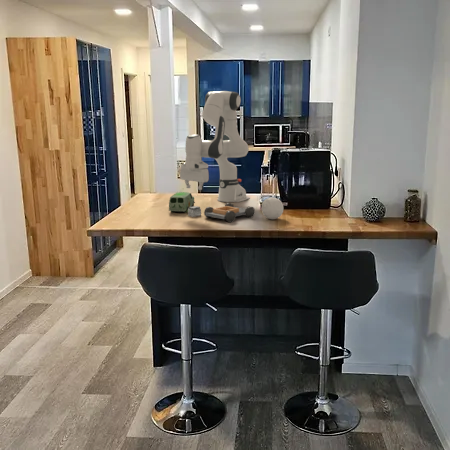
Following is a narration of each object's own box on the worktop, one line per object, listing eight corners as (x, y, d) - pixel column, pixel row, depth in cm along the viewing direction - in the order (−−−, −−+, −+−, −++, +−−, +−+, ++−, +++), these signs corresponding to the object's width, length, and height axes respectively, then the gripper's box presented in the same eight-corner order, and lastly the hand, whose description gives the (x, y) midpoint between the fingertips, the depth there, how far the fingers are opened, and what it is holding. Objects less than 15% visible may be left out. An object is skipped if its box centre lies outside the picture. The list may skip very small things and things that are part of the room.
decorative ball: (257, 217, 283) (257, 196, 280) (276, 215, 288) (276, 195, 285) (267, 222, 272) (268, 200, 270) (287, 220, 277) (287, 198, 274)
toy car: (195, 205, 318) (195, 190, 316) (185, 214, 294) (185, 197, 292) (178, 205, 320) (178, 189, 317) (168, 213, 296) (167, 196, 294)
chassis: (232, 211, 299) (232, 201, 298) (255, 216, 287) (255, 205, 286) (202, 218, 282) (202, 207, 281) (226, 223, 270) (226, 212, 269)
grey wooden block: (195, 214, 293) (195, 205, 292) (201, 215, 290) (200, 206, 289) (188, 216, 289) (187, 207, 288) (193, 217, 286) (193, 208, 285)
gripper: (177, 163, 288) (177, 187, 291) (202, 166, 274) (202, 191, 277) (185, 162, 292) (185, 186, 295) (210, 165, 278) (210, 190, 281)
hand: (194, 188), depth 286 cm, fingers open, 8 cm apart
